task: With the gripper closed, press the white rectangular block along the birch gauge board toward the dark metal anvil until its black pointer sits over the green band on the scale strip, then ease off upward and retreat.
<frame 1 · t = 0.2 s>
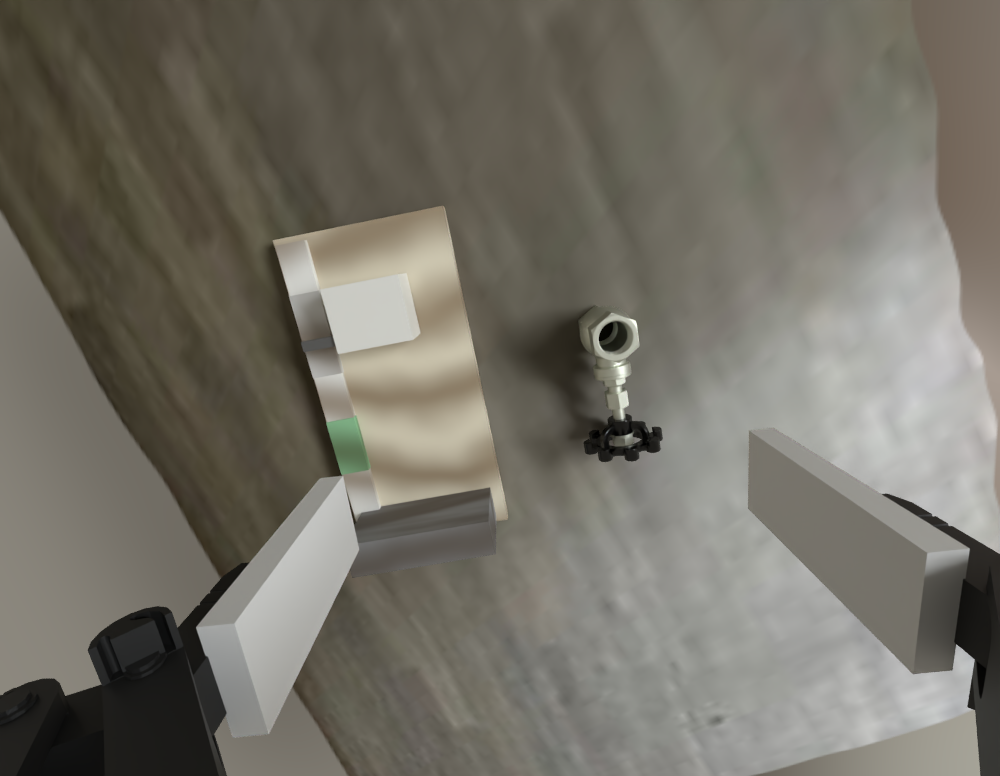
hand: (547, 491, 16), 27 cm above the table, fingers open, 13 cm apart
white rectangular block: (356, 315, 38), point 3 cm above the table, slide at 0.0 cm
valve: (604, 369, 43), on the table
gauge board: (401, 386, 43), on the table
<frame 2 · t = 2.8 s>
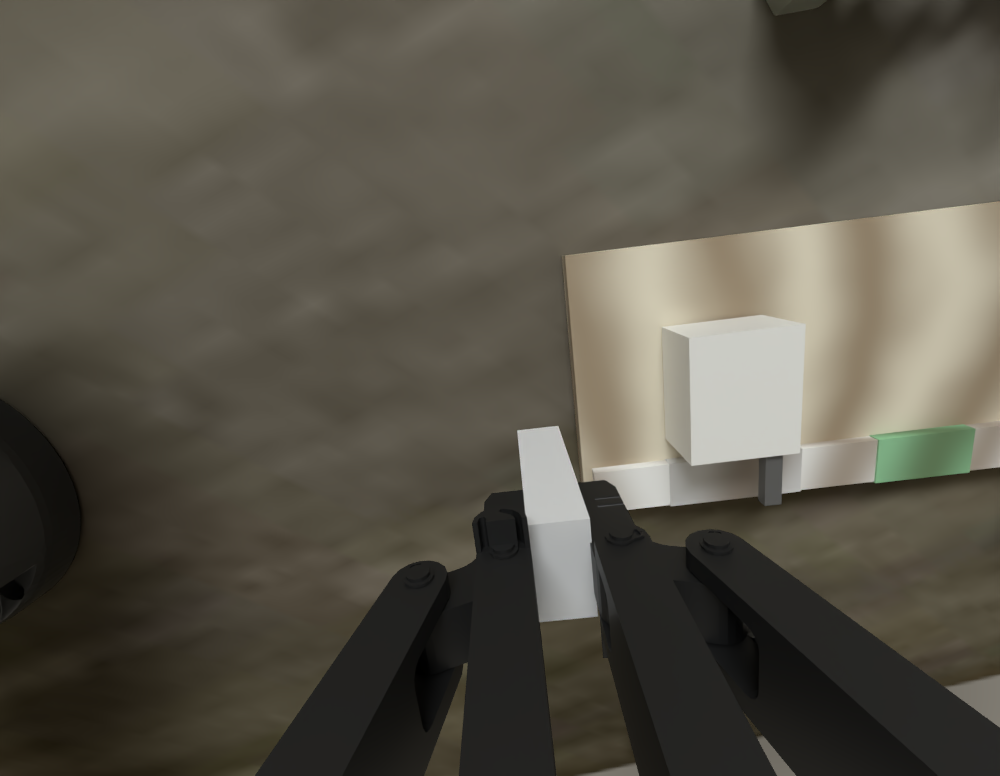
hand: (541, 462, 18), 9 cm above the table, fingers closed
white rectangular block: (727, 414, 24), point 3 cm above the table, slide at 0.0 cm
gauge board: (830, 357, 26), on the table
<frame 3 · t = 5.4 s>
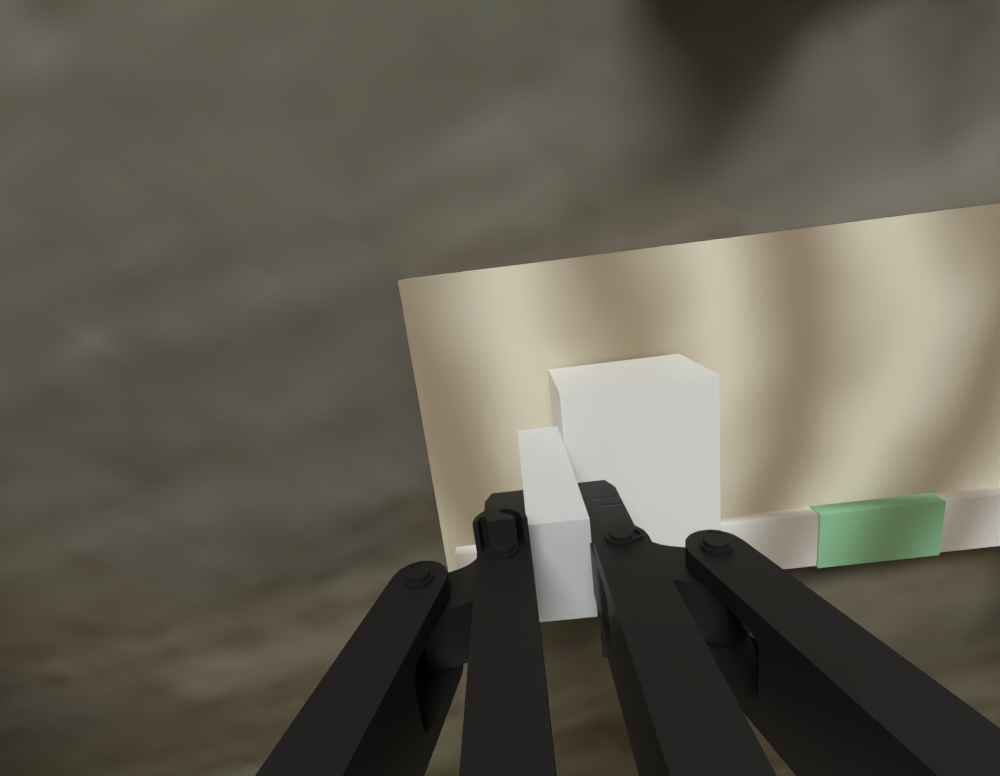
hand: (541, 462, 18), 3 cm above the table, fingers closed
white rectangular block: (631, 485, 18), point 3 cm above the table, slide at 0.7 cm, touching gripper
gauge board: (760, 406, 20), on the table
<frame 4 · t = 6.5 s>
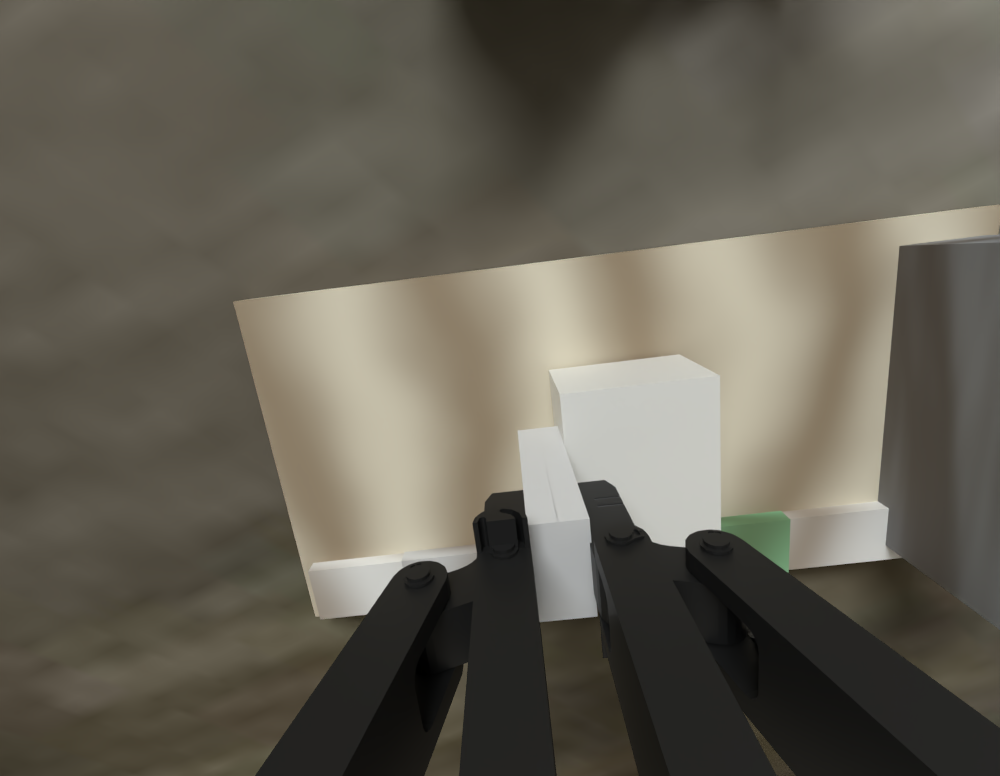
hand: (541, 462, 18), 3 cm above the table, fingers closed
white rectangular block: (631, 486, 18), point 3 cm above the table, slide at 6.9 cm, touching gripper
gauge board: (613, 424, 21), on the table
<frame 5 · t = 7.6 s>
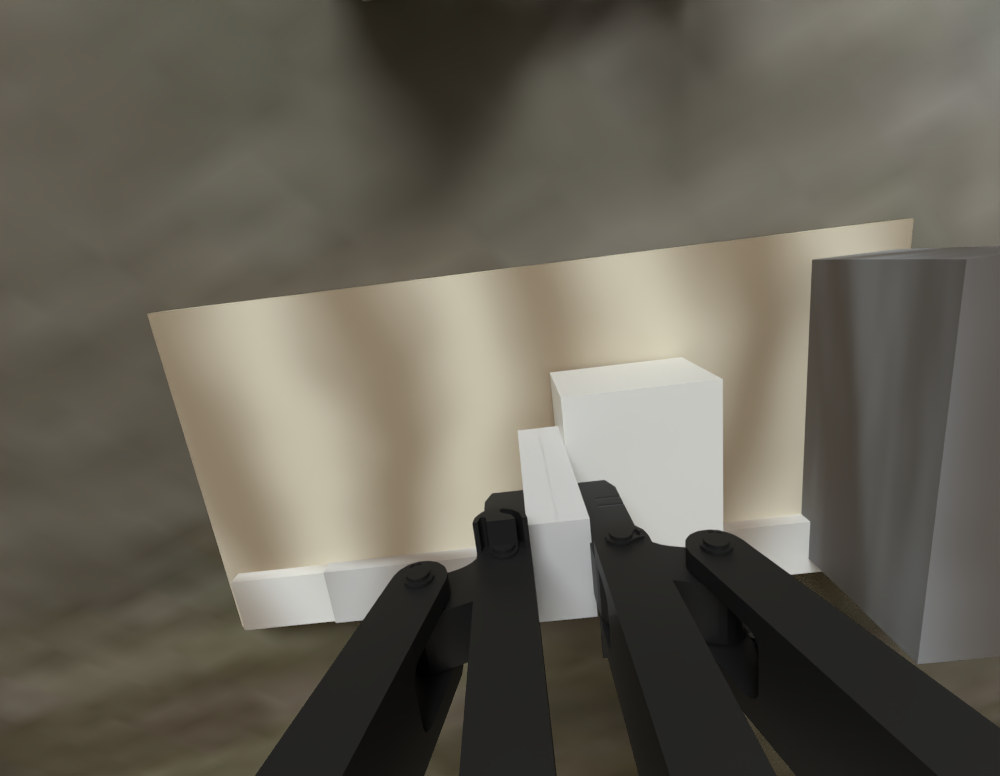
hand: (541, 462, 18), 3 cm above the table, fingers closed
white rectangular block: (633, 489, 18), point 3 cm above the table, slide at 10.2 cm, touching gripper
gauge board: (537, 435, 20), on the table
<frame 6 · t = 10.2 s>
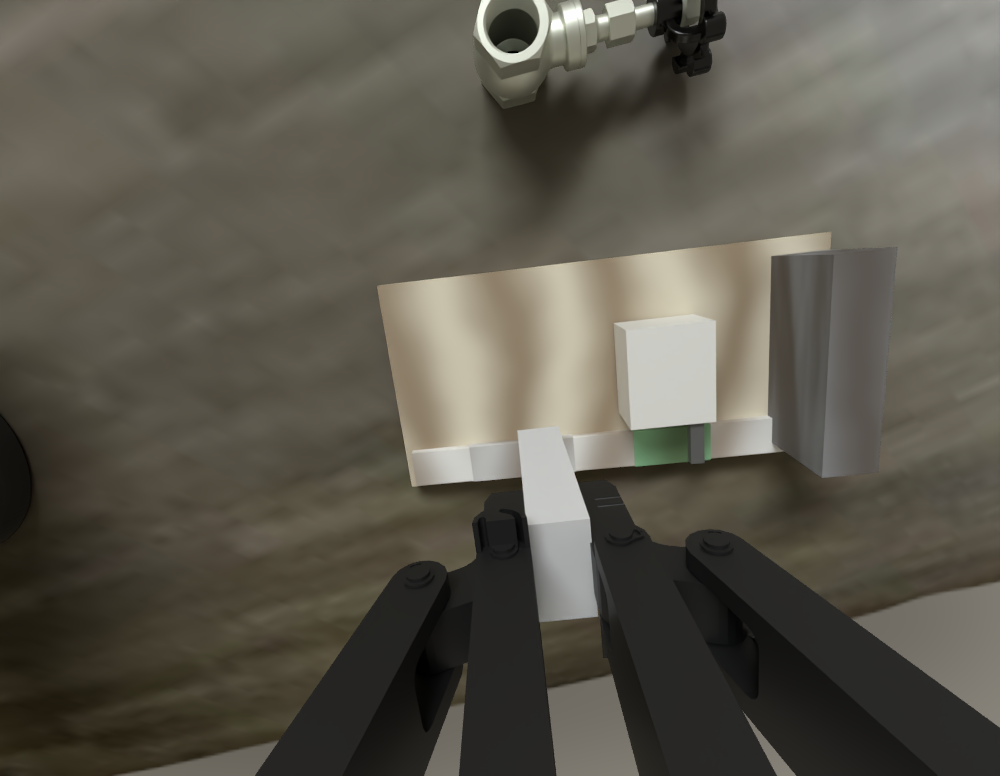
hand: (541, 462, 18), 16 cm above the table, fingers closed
white rectangular block: (663, 391, 30), point 3 cm above the table, slide at 10.2 cm
valve: (577, 59, 29), on the table
gauge board: (601, 365, 33), on the table
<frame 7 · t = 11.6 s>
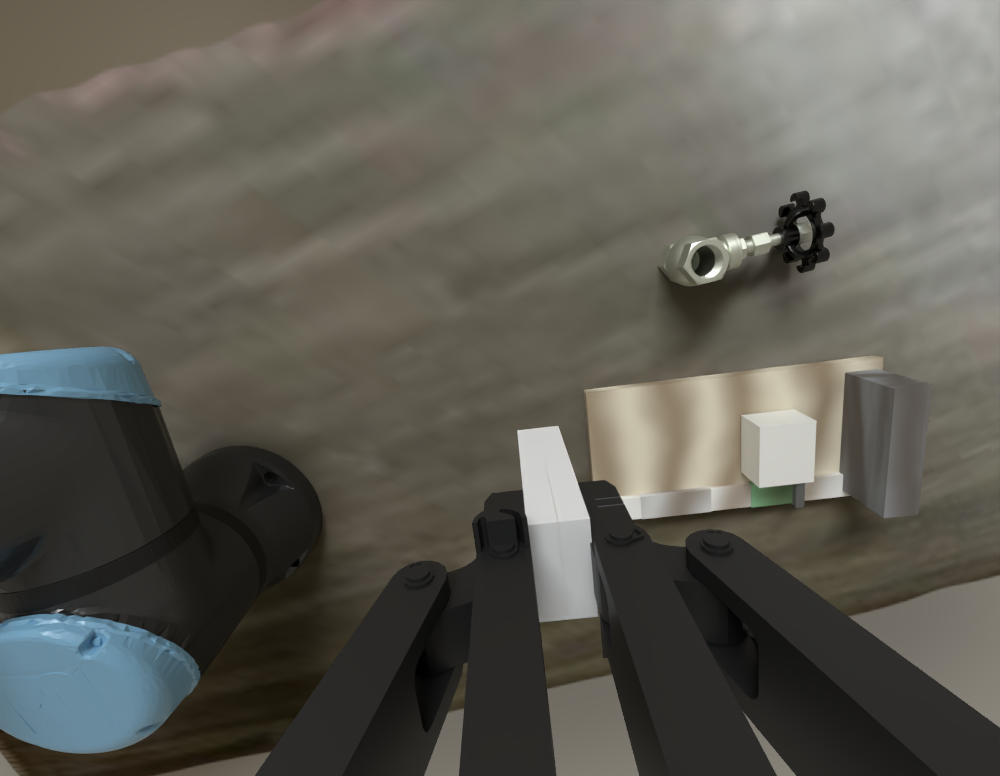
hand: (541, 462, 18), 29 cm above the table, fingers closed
white rectangular block: (776, 461, 46), point 3 cm above the table, slide at 10.2 cm
valve: (719, 250, 44), on the table
gauge board: (727, 439, 49), on the table
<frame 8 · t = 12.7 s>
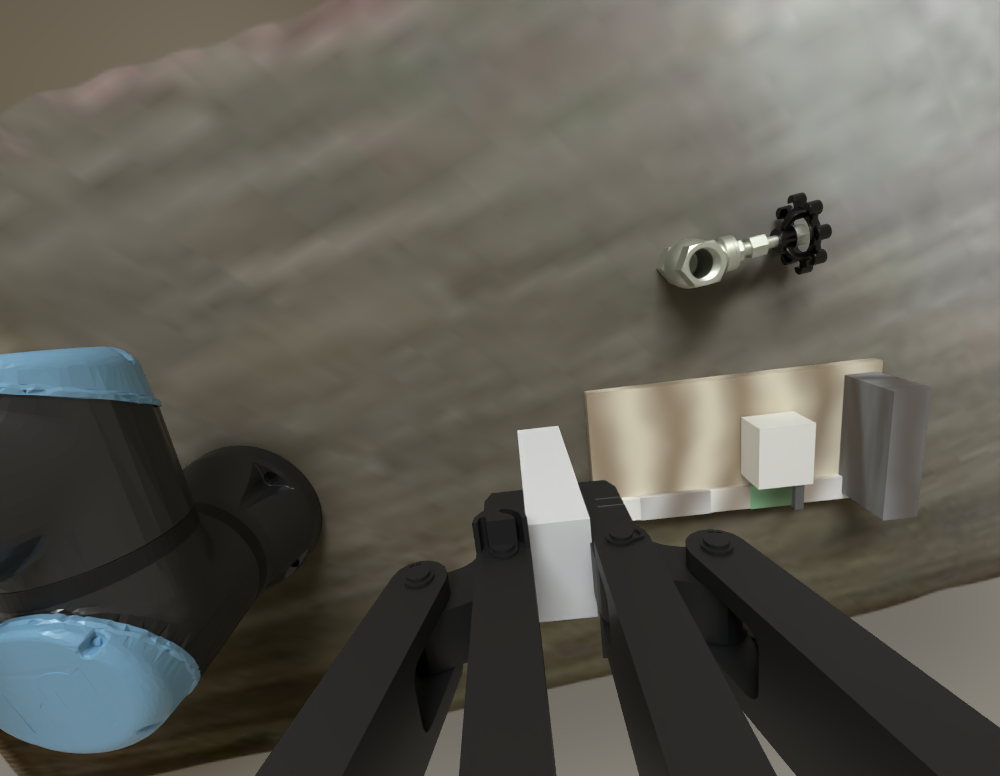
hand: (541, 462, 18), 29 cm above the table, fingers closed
white rectangular block: (776, 462, 46), point 3 cm above the table, slide at 10.2 cm
valve: (717, 252, 45), on the table
gauge board: (727, 441, 49), on the table
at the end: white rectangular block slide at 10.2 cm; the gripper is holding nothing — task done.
